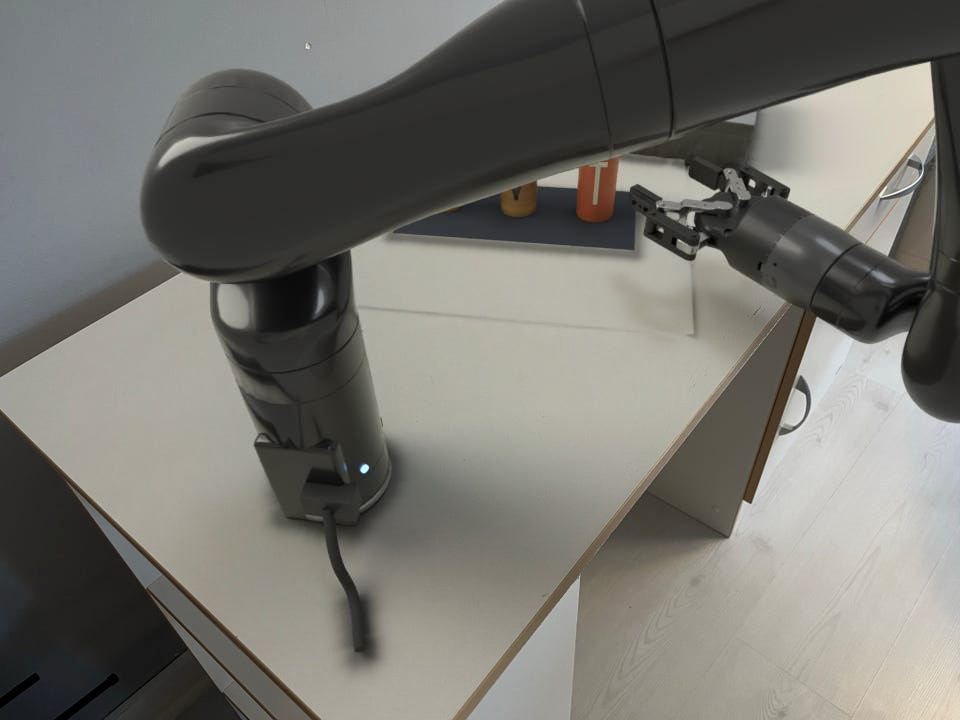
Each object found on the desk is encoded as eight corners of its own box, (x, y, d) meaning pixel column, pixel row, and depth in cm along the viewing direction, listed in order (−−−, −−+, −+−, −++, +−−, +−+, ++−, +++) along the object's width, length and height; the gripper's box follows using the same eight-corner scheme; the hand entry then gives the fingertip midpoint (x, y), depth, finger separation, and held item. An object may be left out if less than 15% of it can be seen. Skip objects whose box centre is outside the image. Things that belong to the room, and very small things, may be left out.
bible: (732, 191, 89) (750, 115, 82) (537, 143, 99) (538, 73, 92) (778, 111, 102) (798, 41, 95) (603, 77, 113) (609, 11, 106)
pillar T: (612, 224, 84) (620, 146, 76) (574, 221, 84) (579, 143, 77) (613, 203, 87) (622, 125, 80) (577, 200, 87) (582, 123, 80)
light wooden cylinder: (534, 219, 85) (535, 141, 78) (497, 216, 85) (495, 139, 78) (538, 198, 88) (540, 122, 81) (503, 196, 89) (502, 120, 82)
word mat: (633, 254, 80) (634, 249, 80) (393, 236, 84) (392, 232, 84) (636, 196, 89) (636, 191, 88) (416, 182, 93) (416, 178, 92)
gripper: (857, 191, 64) (717, 123, 73) (750, 249, 58) (614, 169, 68) (830, 258, 69) (703, 187, 79) (731, 318, 64) (606, 234, 73)
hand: (662, 179), depth 73 cm, fingers open, 8 cm apart
